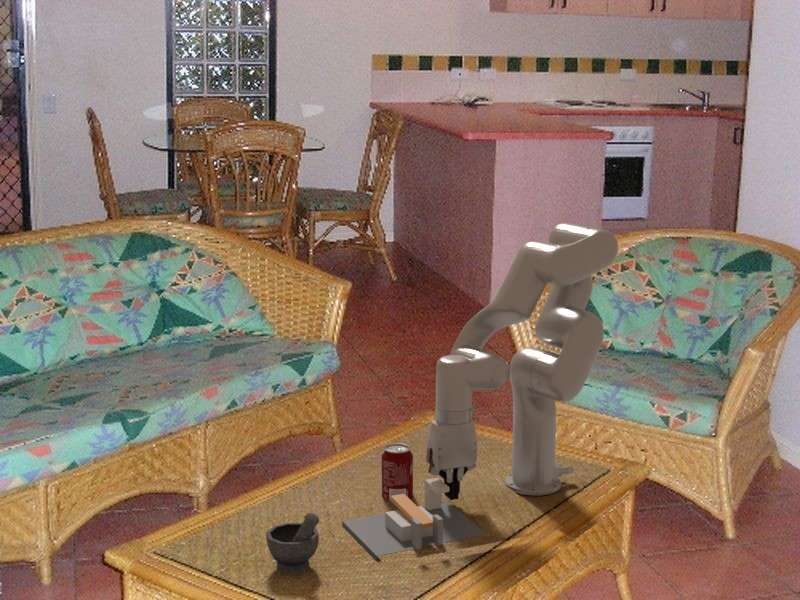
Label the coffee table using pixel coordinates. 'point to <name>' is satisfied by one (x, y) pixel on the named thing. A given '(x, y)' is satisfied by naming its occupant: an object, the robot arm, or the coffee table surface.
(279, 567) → the mortar and pestle
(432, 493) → the block
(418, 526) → the board
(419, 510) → the strap
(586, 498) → the coffee table surface
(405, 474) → the soda can
